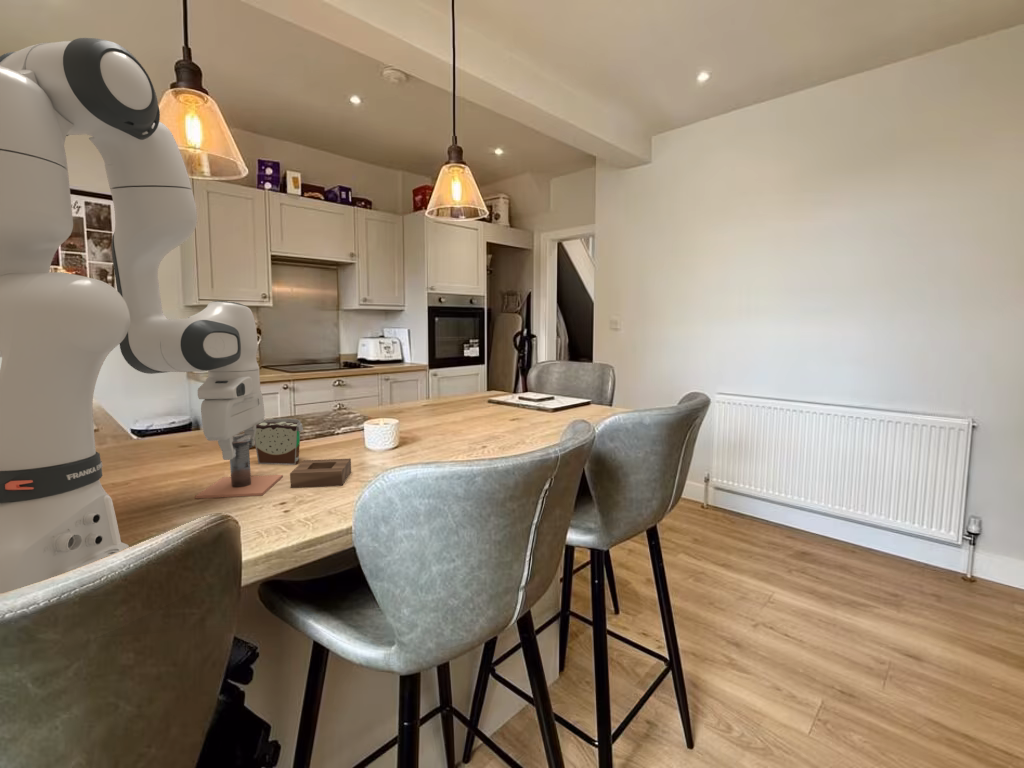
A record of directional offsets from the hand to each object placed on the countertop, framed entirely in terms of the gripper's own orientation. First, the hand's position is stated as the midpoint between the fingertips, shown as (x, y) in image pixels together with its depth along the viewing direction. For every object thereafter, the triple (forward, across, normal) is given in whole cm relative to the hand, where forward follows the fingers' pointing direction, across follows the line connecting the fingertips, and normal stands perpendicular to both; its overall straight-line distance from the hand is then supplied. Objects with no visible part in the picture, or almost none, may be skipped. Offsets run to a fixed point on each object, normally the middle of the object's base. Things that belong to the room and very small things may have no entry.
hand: (239, 452), depth 98 cm
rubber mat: (+7, 0, 0) cm, 7 cm away
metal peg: (+7, 0, 0) cm, 7 cm away
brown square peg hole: (+7, -3, +15) cm, 17 cm away
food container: (+7, -20, +2) cm, 21 cm away
